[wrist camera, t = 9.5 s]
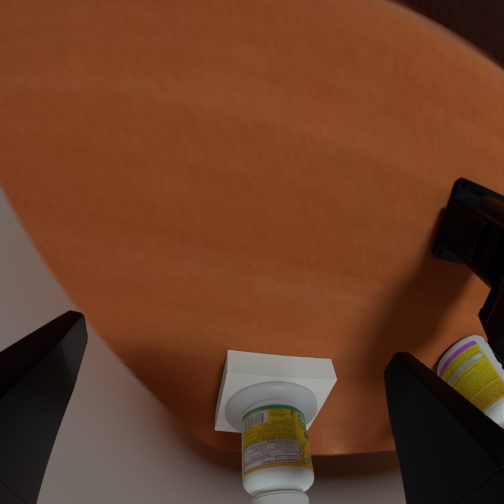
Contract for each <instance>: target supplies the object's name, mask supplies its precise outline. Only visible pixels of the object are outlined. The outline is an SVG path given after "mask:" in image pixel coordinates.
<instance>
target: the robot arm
mask: <svg viewBox="0 0 504 504" xmlns="http://www.w3.org/2000/svg"><path fill="white" fill-rule="evenodd" d="M462 183H463V186H462ZM438 251H439V252H438ZM437 252H438V253H437ZM432 254H433V256H434V257H435V258H437V259H442V260H447V261H452V262H456V263H461V264H465V265H466V266H467V267H468V268H469V269H471V270H472V271H473V272H474V273H475V274H476V275H477V276H478V277H479V278H480V279H481V280H482V281H483V282H484V283H485V284H486V285H487V286H488V287H489V288H490V289H491V290H490V292H489V295H488V297H487V299H486V301H485V304H484V306H483V308H481V309H480V312H479V314H478V317H479V319H480V321H481V324H482V326H483V329H484V331H485V334H486V336H487V339H488V345H489V347H490V348H491V350H492V352H493V354H494V356H495V358H496V359H497V361H498V362H499V363H500V364H501V365H502V369H503V370H504V196H503V195H501V194H499V193H496V192H494V191H492V190H490V189H488V188H486V187H483V186H481V185H479V184H477V183H474V182H472V181H470V180H467V179H465V178H459V179H458V180H457V182H456V185H455V189H454V192H453V195H452V198H451V201H450V204H449V207H448V210H447V212H446V215H445V218H444V221H443V224H442V226H441V229H440V232H439V234H438V237H437V239H436V242H435V244H434V247H433V249H432ZM87 336H88V335H87V329H86V323H85V317H84V315H83V314H82V313H81V312H76V311H72V310H70V311H68V312H66V313H64V314H62V315H61V316H59V317H57V318H55V319H54V320H52V321H50V322H49V323H47V324H46V325H44V326H42V327H41V328H39V329H37V330H36V331H34V332H32V333H30V334H29V335H27V336H25V337H24V338H22V339H20V340H19V341H17V342H15V343H14V344H12V345H11V346H9V347H7V348H6V349H4V350H3V351H1V352H0V504H36V503H37V499H38V495H39V491H40V488H41V484H42V481H43V477H44V474H45V470H46V467H47V464H48V461H49V457H50V454H51V451H52V448H53V445H54V442H55V439H56V436H57V433H58V430H59V427H60V425H61V422H62V419H63V416H64V414H65V411H66V408H67V405H68V403H69V400H70V397H71V395H72V392H73V390H74V387H75V383H76V380H77V376H78V372H79V369H80V365H81V362H82V358H83V355H84V351H85V348H86V344H87V339H88V337H87ZM384 384H385V391H386V398H387V405H388V413H389V419H390V424H391V428H392V433H393V437H394V442H395V446H396V451H397V456H398V460H399V465H400V471H401V476H402V481H403V486H404V493H405V498H406V504H504V429H503V428H502V427H501V426H499V425H498V424H497V423H496V422H494V421H493V420H492V419H491V418H489V417H488V416H487V415H485V413H483V412H482V411H481V410H480V409H478V408H477V407H476V406H475V405H474V404H472V403H471V402H470V401H469V400H467V399H466V398H465V397H464V396H462V395H461V394H460V393H459V392H458V391H456V390H455V389H454V388H453V387H451V386H450V385H449V384H448V383H446V382H445V381H444V380H443V379H441V378H440V377H439V376H438V375H436V374H435V373H434V372H433V371H431V370H430V369H429V368H428V367H426V366H425V365H424V364H423V363H421V362H420V361H419V360H418V359H416V358H415V357H414V356H413V355H411V354H410V353H408V352H397V353H395V354H394V356H393V357H392V359H391V361H390V362H389V364H388V366H387V367H386V369H385V371H384Z"/></svg>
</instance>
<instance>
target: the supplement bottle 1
mask: <svg viewBox="0 0 504 504" xmlns="http://www.w3.org/2000/svg"><path fill="white" fill-rule="evenodd" d="M313 481H314V472H313V465H312V460H311V454H310V448H309V442H308V436H307V430H306V424H305V418H304V413H303V411H302V409H301V408H300V407H299V406H298V405H297V404H296V403H294V402H292V401H289V400H285V399H266V400H262V401H259V402H256V403H254V404H252V405H251V406H249V407H248V408H247V409H246V410H245V411H244V413H243V415H242V483H243V486H244V488H245V490H246V491H247V492H248V493H250V494H251V495H253V496H255V497H254V498H253V501H252V504H309V498H308V496H307V495H306V494H305V493H304V492H305V491H306V490H307V489H309V488H310V486H311V485H312V484H313Z"/></svg>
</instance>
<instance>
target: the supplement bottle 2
mask: <svg viewBox="0 0 504 504" xmlns="http://www.w3.org/2000/svg"><path fill="white" fill-rule="evenodd" d="M437 375H438V376H439V377H440V378H441V379H443V380H444V381H445V382H446V383H448V384H449V385H450V386H451V387H453V388H454V389H455V390H456V391H458V392H459V393H460V394H461V395H462V396H464V397H465V398H466V399H467V400H469V401H470V402H471V403H472V404H474V405H475V406H476V407H477V408H478V409H480V410H481V411H482V412H483V413H485V415H487V416H488V417H489V418H491V419H492V420H493V421H494V422H496V423H497V424H498V425H499V426H501V427H502V428H503V429H504V370H503V369H502V365H501V364H500V363H499V362H498V361H497V359H496V358H495V356H494V354H493V352H492V350H491V348H490V347H489V345H488V343H487V342H486V341H485V340H484V338H482V337H481V336H478V335H472V336H468V337H465V338H463V339H461V340H460V341H458V342H457V343H455V344H454V345H453V346H452V347H451V348H450V349H449V350H448V351H447V352H446V353H445V354H444V356H443V357H442V358H441V360H440V362H439V364H438V367H437Z"/></svg>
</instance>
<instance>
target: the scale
mask: <svg viewBox="0 0 504 504" xmlns="http://www.w3.org/2000/svg"><path fill="white" fill-rule="evenodd" d="M336 381H337V378H336V375H335V371H334V368H333V365H332V362H331V359H323V358H307V357H293V356H281V355H270V354H260V353H251V352H242V351H234V350H228V351H227V356H226V361H225V366H224V371H223V376H222V381H221V386H220V391H219V396H218V401H217V406H216V413H215V430H217V431H227V432H239V433H242V415H243V413H244V411H245V410H246V409H247V408H248V407H249V406H251V405H252V404H254V403H256V402H259V401H262V400H266V399H285V400H289V401H292V402H294V403H296V404H297V405H298V406H299V407H300V408H301V409H302V411H303V413H304V418H305V424H306V430H308V429H309V427H310V425H311V424H312V422H313V420H314V419H315V417H316V416H317V414H318V412H319V410H320V409H321V407H322V405H323V404H324V402H325V400H326V398H327V397H328V395H329V393H330V391H331V390H332V388H333V386H334V384H335V383H336Z"/></svg>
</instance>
